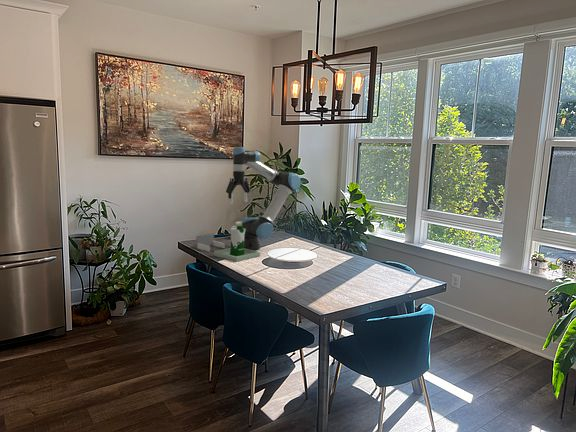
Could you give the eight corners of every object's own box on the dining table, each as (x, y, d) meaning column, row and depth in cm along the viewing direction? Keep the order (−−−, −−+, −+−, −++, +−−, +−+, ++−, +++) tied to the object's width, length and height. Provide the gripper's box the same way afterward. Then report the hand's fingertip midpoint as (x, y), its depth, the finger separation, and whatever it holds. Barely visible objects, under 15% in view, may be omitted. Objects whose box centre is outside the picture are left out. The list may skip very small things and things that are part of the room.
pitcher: (227, 238, 343) (227, 221, 341) (246, 236, 354) (246, 220, 352) (234, 240, 334) (234, 223, 332) (253, 238, 345) (253, 222, 343)
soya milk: (237, 256, 280) (237, 227, 277) (227, 254, 286) (228, 225, 283) (246, 254, 287) (247, 225, 284) (237, 252, 293) (237, 224, 290)
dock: (225, 248, 309) (225, 236, 307) (208, 251, 297) (208, 238, 295) (212, 244, 317) (212, 233, 316) (196, 248, 305) (196, 235, 304)
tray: (259, 256, 288) (260, 252, 288) (236, 262, 271) (236, 257, 271) (237, 250, 302) (237, 246, 302) (214, 255, 285) (214, 251, 285)
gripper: (248, 170, 290) (247, 200, 293) (220, 170, 271) (220, 203, 274) (256, 170, 285) (255, 202, 288) (228, 171, 266) (228, 204, 269)
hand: (238, 202), depth 281 cm, fingers open, 13 cm apart
